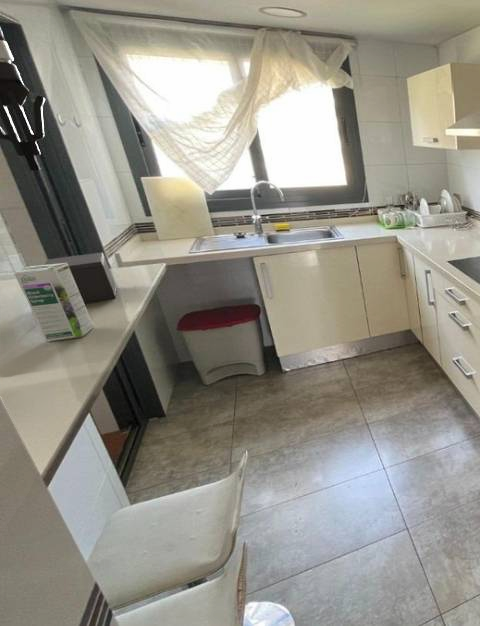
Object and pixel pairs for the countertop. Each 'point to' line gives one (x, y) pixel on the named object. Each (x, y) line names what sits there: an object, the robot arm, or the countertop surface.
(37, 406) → the countertop surface
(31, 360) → the countertop surface
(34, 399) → the countertop surface
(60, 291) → the syrup box
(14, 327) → the countertop surface
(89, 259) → the lid
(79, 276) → the dark brown box
